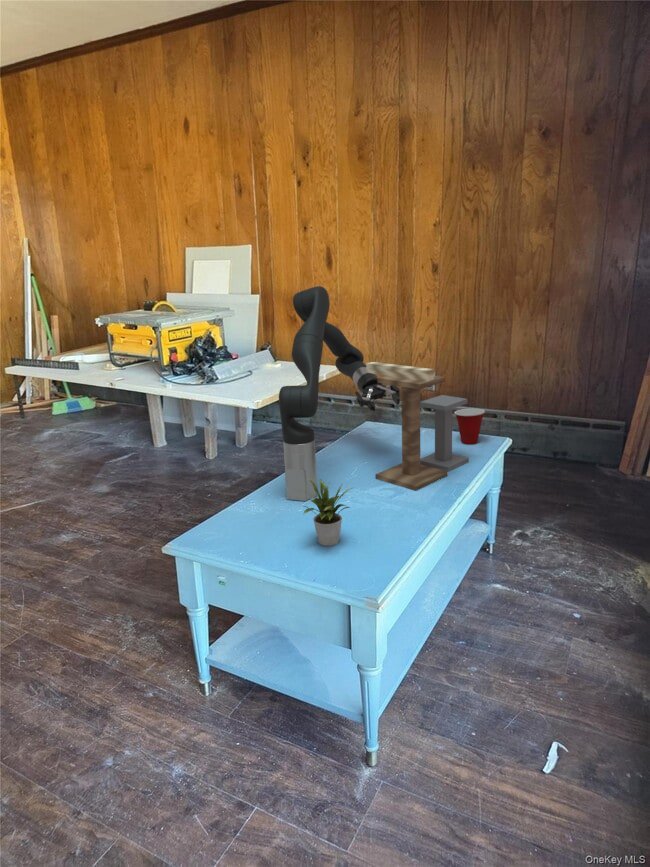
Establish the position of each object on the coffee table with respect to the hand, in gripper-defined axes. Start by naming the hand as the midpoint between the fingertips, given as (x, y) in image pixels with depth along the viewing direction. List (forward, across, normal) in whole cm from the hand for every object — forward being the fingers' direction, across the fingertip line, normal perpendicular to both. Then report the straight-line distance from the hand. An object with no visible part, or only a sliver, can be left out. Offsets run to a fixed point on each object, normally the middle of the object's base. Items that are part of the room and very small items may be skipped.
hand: (386, 405), depth 194 cm
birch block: (+5, +2, -13) cm, 15 cm away
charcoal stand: (+12, +14, +20) cm, 28 cm away
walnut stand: (+19, 0, +16) cm, 25 cm away
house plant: (+47, -38, +1) cm, 60 cm away
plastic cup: (-2, +33, +28) cm, 44 cm away
